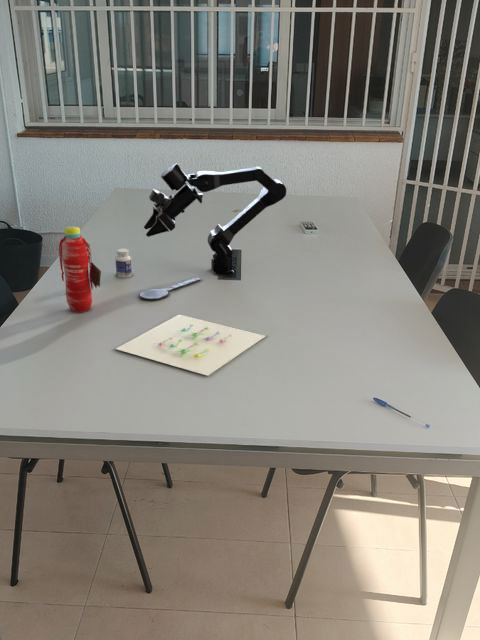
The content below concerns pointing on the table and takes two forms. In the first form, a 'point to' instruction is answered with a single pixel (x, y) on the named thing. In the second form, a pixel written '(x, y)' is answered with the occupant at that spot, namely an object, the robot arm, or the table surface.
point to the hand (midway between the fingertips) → (145, 231)
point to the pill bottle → (123, 263)
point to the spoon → (165, 290)
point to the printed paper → (191, 344)
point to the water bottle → (77, 270)
